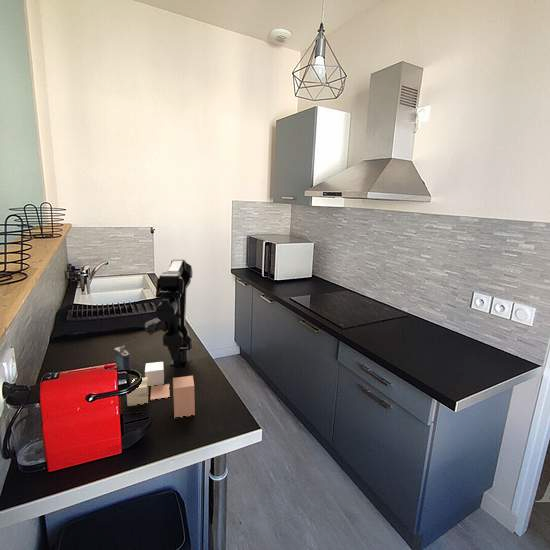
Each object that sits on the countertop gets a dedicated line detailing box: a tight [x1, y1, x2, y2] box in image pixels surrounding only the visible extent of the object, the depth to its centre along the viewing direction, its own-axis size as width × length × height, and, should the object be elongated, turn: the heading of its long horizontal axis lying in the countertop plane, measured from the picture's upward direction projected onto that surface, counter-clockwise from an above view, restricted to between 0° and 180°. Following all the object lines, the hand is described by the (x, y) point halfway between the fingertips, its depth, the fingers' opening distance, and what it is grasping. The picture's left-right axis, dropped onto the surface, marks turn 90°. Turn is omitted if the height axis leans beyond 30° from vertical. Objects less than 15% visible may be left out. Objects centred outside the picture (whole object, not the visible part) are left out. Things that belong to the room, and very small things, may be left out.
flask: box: [113, 345, 131, 371], centre depth 122 cm, size 9×3×11 cm, turn 48°
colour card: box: [149, 383, 171, 401], centre depth 112 cm, size 8×6×1 cm
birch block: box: [126, 377, 150, 407], centre depth 107 cm, size 6×6×6 cm
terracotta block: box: [172, 375, 196, 419], centre depth 102 cm, size 6×6×10 cm
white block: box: [144, 361, 165, 386], centre depth 118 cm, size 6×6×6 cm
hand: (172, 353), depth 115 cm, fingers open, 9 cm apart
